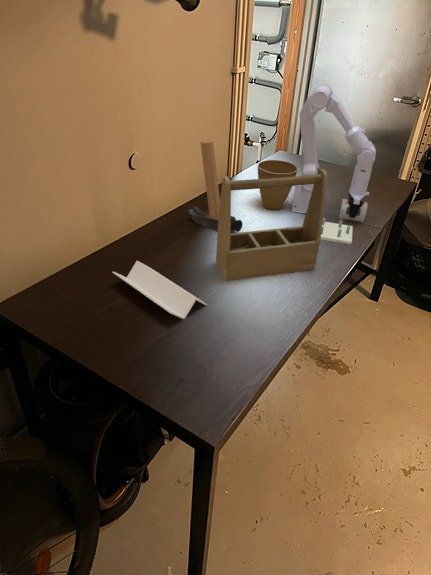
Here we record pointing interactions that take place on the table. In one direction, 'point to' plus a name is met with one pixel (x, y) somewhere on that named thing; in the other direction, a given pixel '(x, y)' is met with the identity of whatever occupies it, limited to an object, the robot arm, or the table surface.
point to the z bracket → (160, 290)
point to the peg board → (336, 232)
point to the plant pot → (275, 169)
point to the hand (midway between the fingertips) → (352, 214)
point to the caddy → (270, 233)
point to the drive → (345, 212)
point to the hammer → (211, 192)
